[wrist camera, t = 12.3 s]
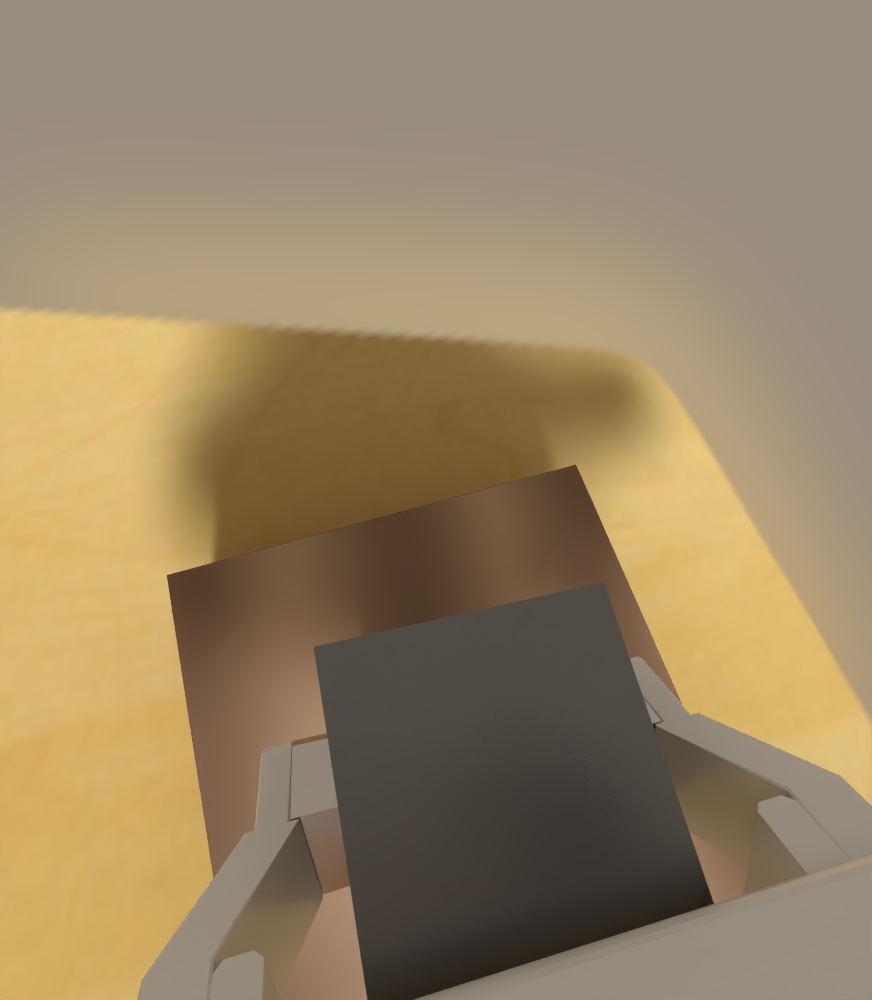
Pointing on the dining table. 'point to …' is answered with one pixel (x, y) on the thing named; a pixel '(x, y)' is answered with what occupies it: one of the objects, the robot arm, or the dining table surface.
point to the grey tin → (499, 792)
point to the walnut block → (362, 611)
